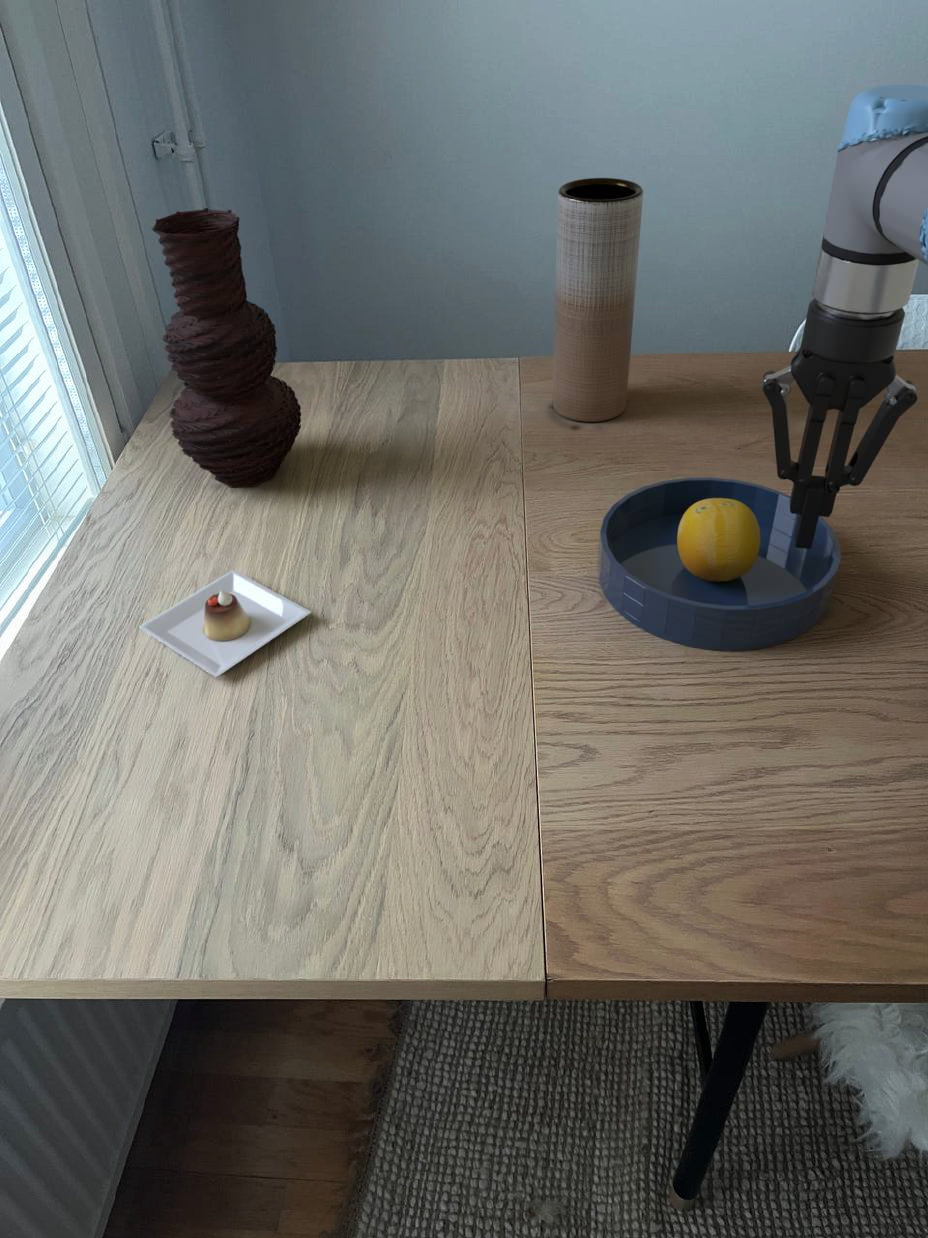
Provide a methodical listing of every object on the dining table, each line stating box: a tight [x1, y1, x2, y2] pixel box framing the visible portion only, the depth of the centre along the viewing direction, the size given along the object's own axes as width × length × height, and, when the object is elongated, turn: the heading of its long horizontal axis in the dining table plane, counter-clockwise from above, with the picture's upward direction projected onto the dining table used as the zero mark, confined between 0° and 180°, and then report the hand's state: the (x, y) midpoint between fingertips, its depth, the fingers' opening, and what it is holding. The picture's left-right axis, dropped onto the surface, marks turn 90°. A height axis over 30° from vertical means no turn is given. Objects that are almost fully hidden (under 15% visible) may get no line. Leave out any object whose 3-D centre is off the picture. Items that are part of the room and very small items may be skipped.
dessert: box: [138, 569, 312, 678], centre depth 92 cm, size 12×12×5 cm
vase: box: [151, 207, 302, 488], centre depth 109 cm, size 15×15×30 cm
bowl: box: [597, 476, 842, 652], centre depth 96 cm, size 23×23×5 cm
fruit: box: [677, 498, 760, 582], centre depth 95 cm, size 9×8×8 cm
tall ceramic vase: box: [552, 177, 644, 423], centre depth 120 cm, size 10×10×28 cm
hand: (802, 540), depth 92 cm, fingers closed
